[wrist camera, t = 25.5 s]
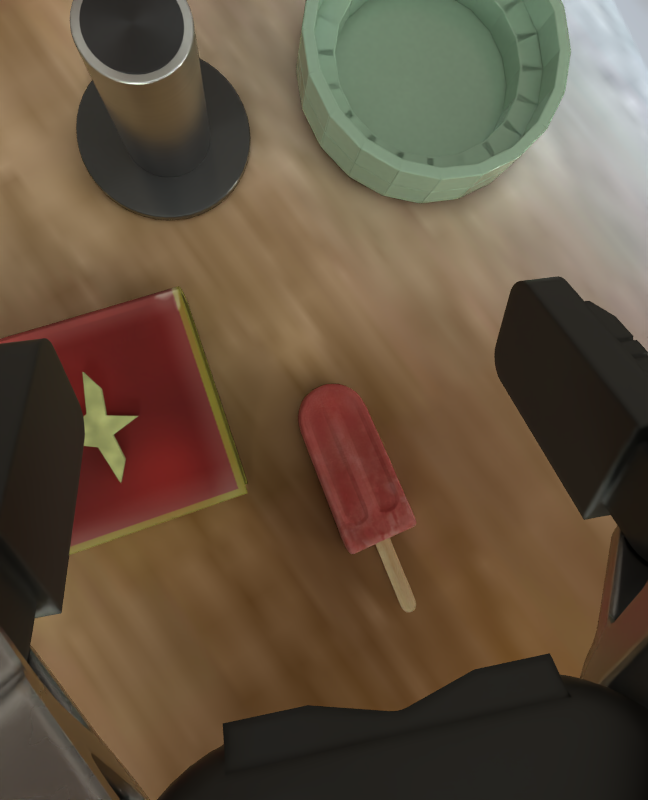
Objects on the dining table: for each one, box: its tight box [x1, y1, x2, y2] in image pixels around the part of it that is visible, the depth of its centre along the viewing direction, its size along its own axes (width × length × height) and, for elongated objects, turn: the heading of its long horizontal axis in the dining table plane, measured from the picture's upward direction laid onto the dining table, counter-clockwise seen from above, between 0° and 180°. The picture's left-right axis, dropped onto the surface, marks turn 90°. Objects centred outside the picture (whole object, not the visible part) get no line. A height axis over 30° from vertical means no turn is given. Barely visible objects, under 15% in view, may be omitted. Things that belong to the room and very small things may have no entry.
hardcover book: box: [0, 286, 248, 555], centre depth 31 cm, size 12×21×4 cm, turn 108°
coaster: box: [76, 59, 250, 220], centre depth 34 cm, size 10×10×1 cm
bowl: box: [296, 0, 571, 203], centre depth 34 cm, size 15×15×4 cm
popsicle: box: [298, 384, 416, 612], centre depth 35 cm, size 4×2×15 cm
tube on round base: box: [70, 0, 210, 177], centre depth 28 cm, size 11×5×10 cm, turn 8°
